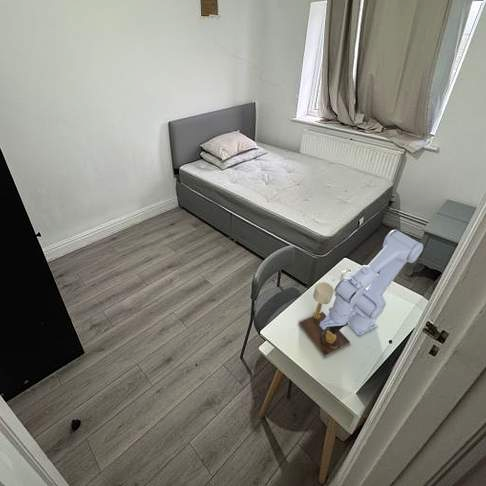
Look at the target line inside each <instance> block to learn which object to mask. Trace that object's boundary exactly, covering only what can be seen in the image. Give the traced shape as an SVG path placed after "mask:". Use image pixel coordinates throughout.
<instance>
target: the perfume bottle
mask: <svg viewBox="0 0 486 486" xmlns="http://www.w3.org/2000/svg"><path fill="white" fill-rule="evenodd" d="M345 269H346V270H344V271H341V273H340V277H339V282H340V281H341V280H343V279H346V280H347V279H348V278H349V277H350V276H351V275H352V274H353V273H352V271H353V269H351V268H350V267H346V268H345Z"/></svg>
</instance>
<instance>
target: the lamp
mask: <svg viewBox="0 0 486 486" xmlns="http://www.w3.org/2000/svg"><path fill="white" fill-rule="evenodd" d="M334 289H335V288H334V287H333V286H332V285H331V284H330V283H328V282H325V281H320V282H318V283H316V284H315V287H314V291H313V295H312V296H313V299H314V301H315V302H316V303H317V304H316V307H315V311H314V312H313V313H312V316H313V317H314V318H316V319H319V318H320V314H319V313H321V310H322V307H323V305H329V304H330V303H331V301H332V299H333V295H334V293H335V291H334Z"/></svg>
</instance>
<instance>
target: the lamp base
mask: <svg viewBox="0 0 486 486" xmlns="http://www.w3.org/2000/svg"><path fill="white" fill-rule="evenodd" d="M319 314H320V318H319V319H316V318H314V317H313V315H312V316H310V317H308V318H305V319H303V320H300V321H299V322H298V325H299V327H300V328H301V329H302V331H304V333H305V334H306V335H307V337H308V338H309V339H310V340H311V342H312V343H313V344H314V345H315V347H316V348H317V349H318V351H319V352H320V354H322V355H323V357H324V358H327V357H328V356H330V355H331V354H333V353H336V352H337V351H339V350H341V349H343V348H345V347H347V346H349V345H350V343H351V341H350V340H349V339H348V338H347V337H346V336H345V335H344V334H343V333H342V331H341V329H340V330H339V331H338V332H337V333H336V334H335V335H336V341H335V343H333V344H331V343H328V342H327V341H326V339H325V336H326V334H327V333H328V332H331V331H330V327H326V329H324V330H323V329H322V328H321V326H320V322H321V321H323V320H324V319H325V318H326V316H327V315H326V314H325V312H324V311H320V313H319Z"/></svg>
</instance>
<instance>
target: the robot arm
mask: <svg viewBox="0 0 486 486" xmlns="http://www.w3.org/2000/svg"><path fill="white" fill-rule="evenodd" d="M423 250H424V244H423V243H421V242H419V241H417V240H416V239H414V238H412V237H410V236H408V235H406V234H404V233H403V232H401V231H399V230H398V229H392V230H391V231H390V232H388V234H386V236H385V238H384V241H383V243H382V249H381V250H379V252H378V253H377V254H376V255H375V257H373V259H371V260H370V262H369V263H368V264H365V265H364V264H363V265H361V266H360V267H358V268H357V269H355V270H354V272H353V273H352V275H351V276H350V277H349V278H348V279H347V280H346V279H343V280H341V281H340V280H339V281H338V283H337V284H336V286H335V287H334V288H333V289H334V296H335V299H334V301H333V305H332V307H329V308H328V314H327V315H326V318H325V319H324V320H323V321H321V322H320V326H321V328H322V329H323V330H324V329H326V327H330V331H331V332H332V334H333V335H334V334H336V333H337V332H338V331H339V330H340V331H341V329H342V328H345V327H347V326H349V327H350V328H351V329H352V330H353V331H354V332H355V333H356V335H358V336H361V335H363V334H366V333H367V332H369V331H371V330H372V329H374V328H376V327H377V324H376V322H377V321H378V318H379V317H380V316H381V315H382V314H383V312H384V309H385V308H386V306H387V302H386V300H385V298H384V296H383V295H384V294H385V292H386V291H387V290H388V288H389V287H390V285H392V283H393V281H394V279H395V278H397V275H398V274H399V272H400V271H401V270H402V269H403V267H404V266H405V265H406V263H411V264H414V262H416V261H417V259H418V258H419V256H420V255H421V253H422V252H423Z"/></svg>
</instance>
